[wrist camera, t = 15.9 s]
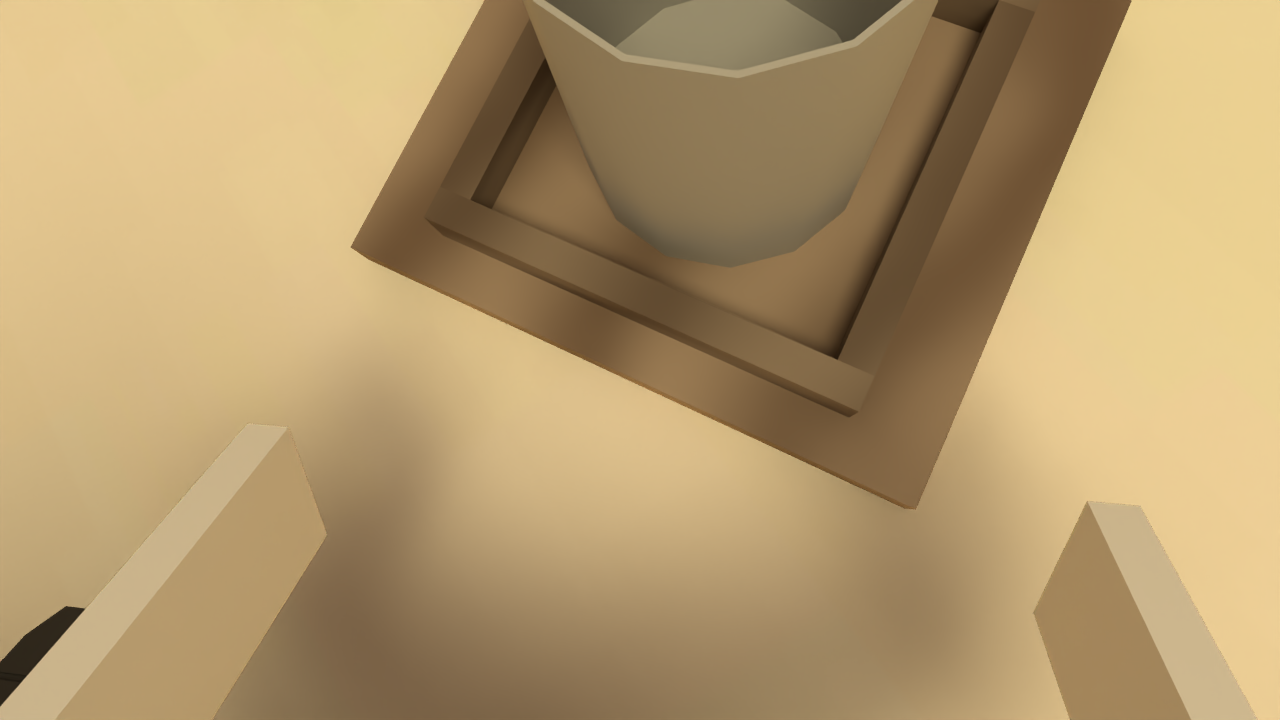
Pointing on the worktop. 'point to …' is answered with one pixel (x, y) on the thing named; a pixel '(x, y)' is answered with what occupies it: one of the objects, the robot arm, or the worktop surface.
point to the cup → (728, 111)
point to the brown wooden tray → (774, 287)
